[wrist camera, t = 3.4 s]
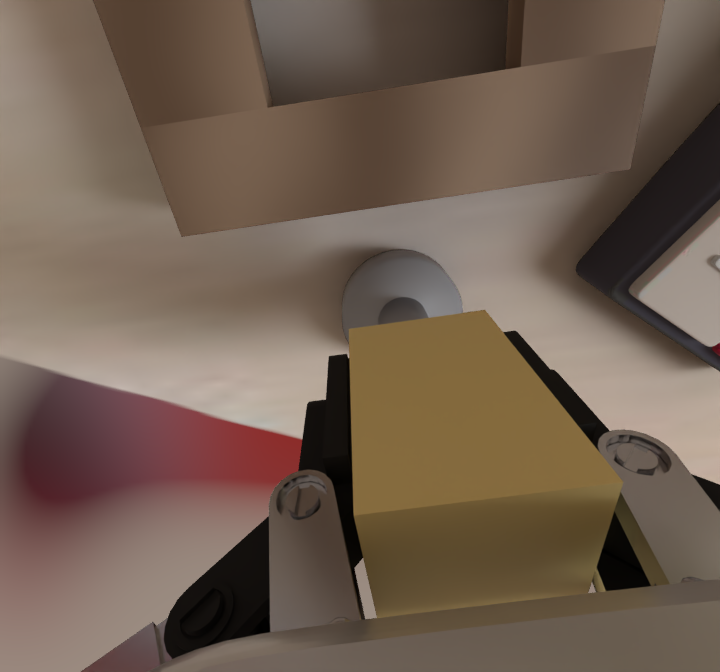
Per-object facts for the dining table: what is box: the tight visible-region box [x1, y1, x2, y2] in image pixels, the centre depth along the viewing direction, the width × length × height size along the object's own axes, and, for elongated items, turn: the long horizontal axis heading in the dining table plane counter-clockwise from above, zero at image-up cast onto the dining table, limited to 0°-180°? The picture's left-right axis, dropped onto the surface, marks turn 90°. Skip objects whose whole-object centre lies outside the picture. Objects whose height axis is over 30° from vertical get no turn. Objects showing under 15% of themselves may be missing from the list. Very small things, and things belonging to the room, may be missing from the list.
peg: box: [342, 250, 623, 618], centre depth 11 cm, size 5×5×12 cm
